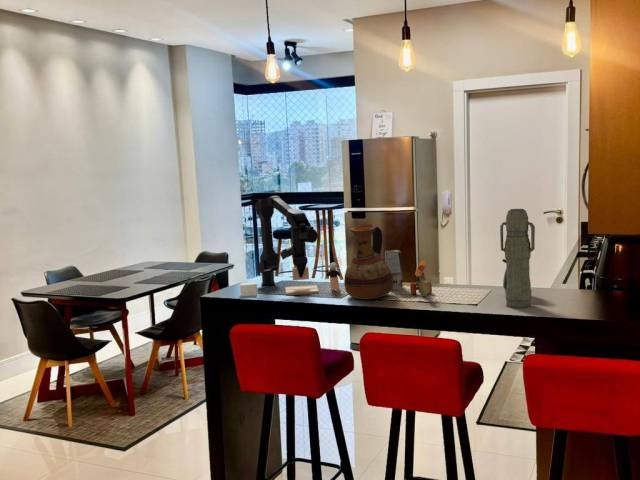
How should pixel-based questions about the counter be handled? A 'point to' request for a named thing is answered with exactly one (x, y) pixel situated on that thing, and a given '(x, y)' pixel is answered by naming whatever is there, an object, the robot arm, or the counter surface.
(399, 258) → the coffee box
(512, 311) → the counter surface
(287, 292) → the oak board
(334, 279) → the grandmother figurine
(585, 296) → the counter surface
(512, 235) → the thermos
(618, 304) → the counter surface
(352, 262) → the ceramic pitcher
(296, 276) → the terracotta brick
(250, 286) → the offwhite brick
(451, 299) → the counter surface
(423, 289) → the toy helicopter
